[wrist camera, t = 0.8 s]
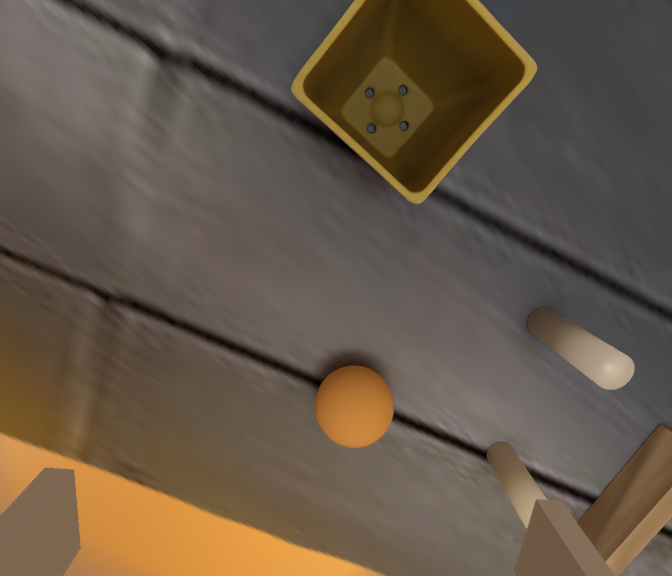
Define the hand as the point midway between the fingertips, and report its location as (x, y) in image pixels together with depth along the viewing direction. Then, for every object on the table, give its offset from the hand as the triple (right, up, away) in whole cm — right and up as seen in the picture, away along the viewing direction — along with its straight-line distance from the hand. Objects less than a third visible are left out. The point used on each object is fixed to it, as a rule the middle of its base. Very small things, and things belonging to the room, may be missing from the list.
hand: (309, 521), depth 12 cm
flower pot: (+4, +19, +17) cm, 26 cm away
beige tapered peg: (+17, +4, +21) cm, 28 cm away
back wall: (+26, -13, +26) cm, 39 cm away
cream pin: (+15, -8, +24) cm, 30 cm away
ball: (+2, -2, +19) cm, 19 cm away
